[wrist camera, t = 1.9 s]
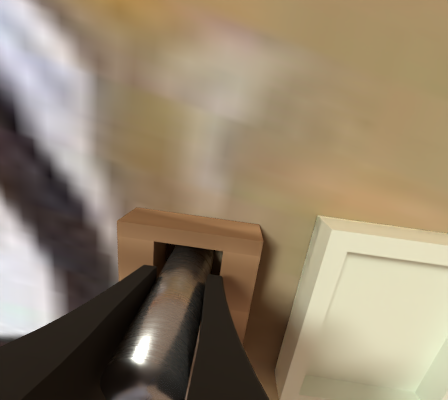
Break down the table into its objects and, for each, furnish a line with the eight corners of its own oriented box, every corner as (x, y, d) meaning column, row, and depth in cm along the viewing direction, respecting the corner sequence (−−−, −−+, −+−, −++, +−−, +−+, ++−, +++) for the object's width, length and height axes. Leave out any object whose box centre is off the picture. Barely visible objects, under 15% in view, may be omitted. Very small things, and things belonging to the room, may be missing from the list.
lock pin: (211, 274, 13) (182, 425, 6) (173, 268, 13) (102, 412, 6) (216, 239, 12) (188, 367, 5) (175, 233, 12) (97, 352, 5)
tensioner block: (234, 355, 15) (233, 433, 11) (136, 340, 15) (101, 411, 11) (259, 224, 12) (269, 267, 8) (136, 207, 12) (87, 240, 8)
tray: (416, 394, 14) (441, 428, 13) (274, 371, 15) (279, 402, 13) (506, 241, 11) (557, 260, 9) (317, 215, 11) (332, 229, 9)
